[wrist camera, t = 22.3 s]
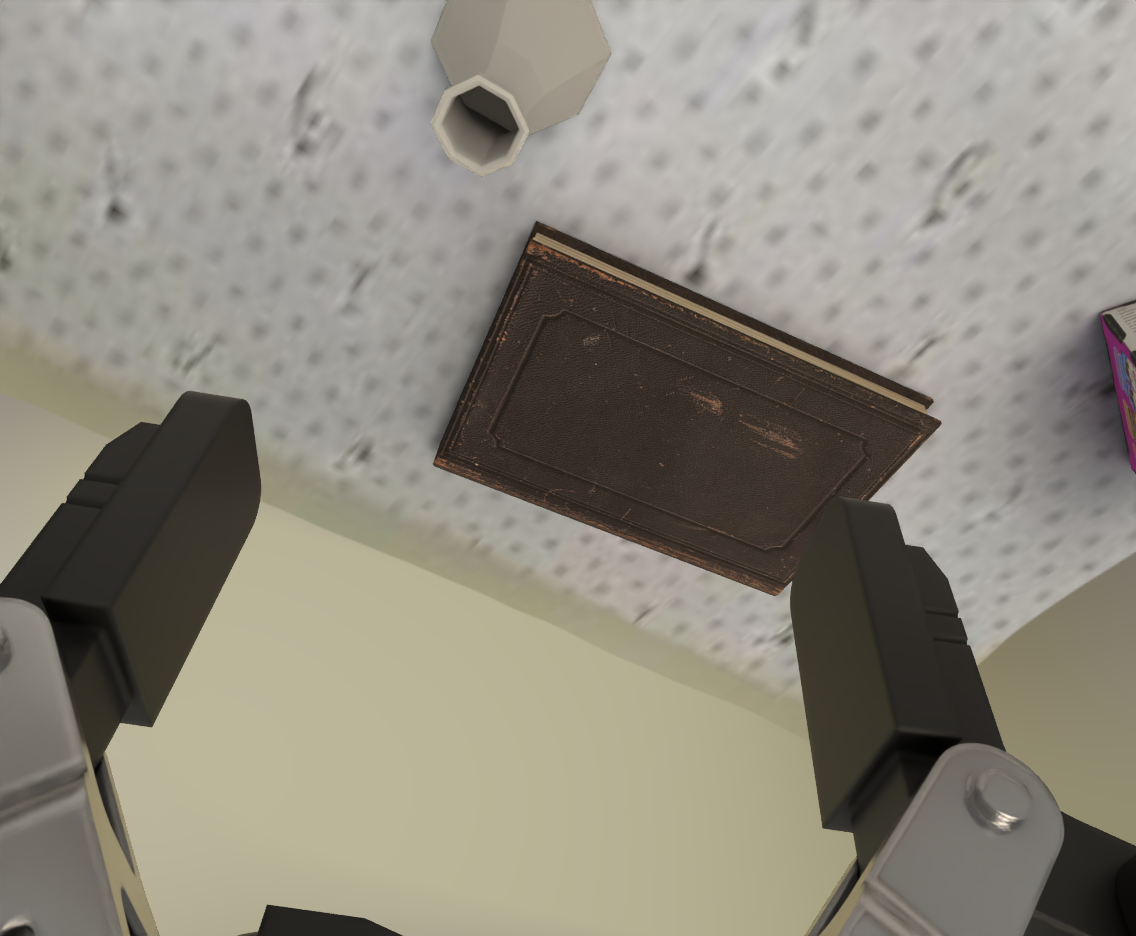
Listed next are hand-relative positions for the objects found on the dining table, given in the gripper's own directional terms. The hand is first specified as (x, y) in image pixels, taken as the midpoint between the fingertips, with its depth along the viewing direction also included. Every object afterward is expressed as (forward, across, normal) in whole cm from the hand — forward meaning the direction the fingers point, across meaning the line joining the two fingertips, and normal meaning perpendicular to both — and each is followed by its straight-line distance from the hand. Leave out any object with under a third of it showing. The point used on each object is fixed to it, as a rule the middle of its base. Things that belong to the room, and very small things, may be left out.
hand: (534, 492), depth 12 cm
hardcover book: (+30, -7, +21) cm, 37 cm away
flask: (+30, +4, +3) cm, 31 cm away
